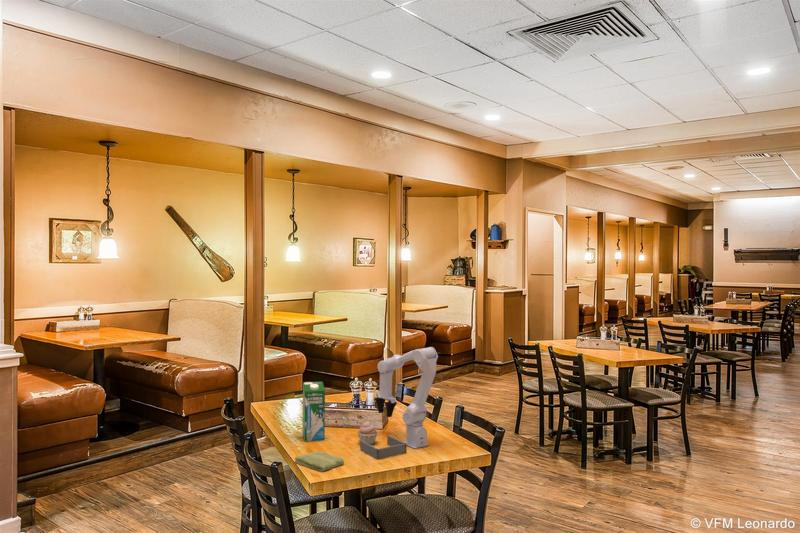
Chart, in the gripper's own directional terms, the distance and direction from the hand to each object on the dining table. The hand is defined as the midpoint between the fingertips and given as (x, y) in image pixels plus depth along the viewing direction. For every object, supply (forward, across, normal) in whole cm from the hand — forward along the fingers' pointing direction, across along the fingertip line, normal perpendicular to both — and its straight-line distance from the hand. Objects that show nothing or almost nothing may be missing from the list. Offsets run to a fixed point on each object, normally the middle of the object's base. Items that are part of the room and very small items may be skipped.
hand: (385, 414), depth 266 cm
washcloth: (+10, +18, -42) cm, 47 cm away
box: (+9, +19, -13) cm, 25 cm away
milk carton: (+10, -13, -30) cm, 35 cm away
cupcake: (+10, +6, -13) cm, 17 cm away
